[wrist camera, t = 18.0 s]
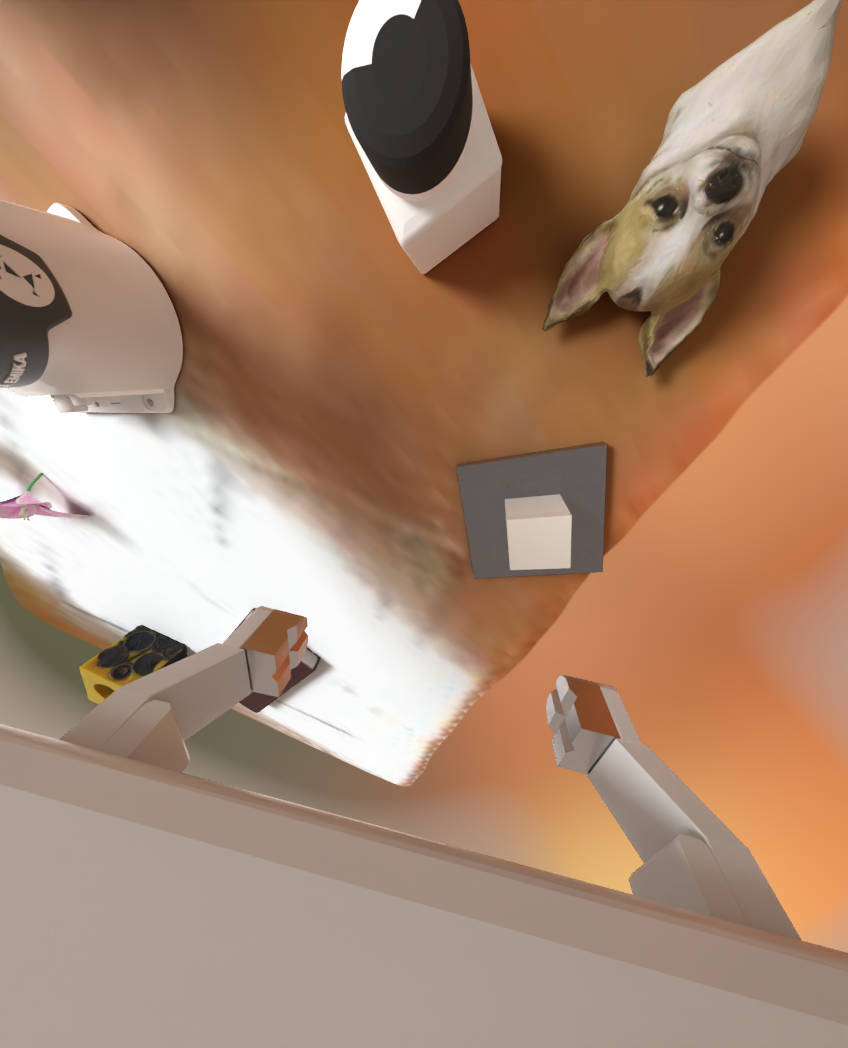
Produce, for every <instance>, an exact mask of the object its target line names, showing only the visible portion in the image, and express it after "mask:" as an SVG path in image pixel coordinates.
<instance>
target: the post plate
mask: <svg viewBox="0 0 848 1048" xmlns="http://www.w3.org/2000/svg"><path fill="white" fill-rule="evenodd" d="M606 458H607V444H605V443H604V442H598V443H592V444H585V445H579V446H572V447H566V448H559V449H553V450H546V451H540V452H533V453H527V454H520V455H514V456H507V457H501V458H494V459H488V460H481V461H475V462H468V463H462V464H457V466H456V470H457V476H458V482H459V488H460V494H461V500H462V506H463V512H464V518H465V524H466V530H467V536H468V542H469V548H470V554H471V560H472V566H473V572H474V579H478V578H497V577H515V576H534V575H553V574H572V573H591V572H603V571H602V570H603V544H604V515H605V487H606ZM556 494H560V495H561V497H562V499H563V501H564V502H565V504H566V506H567V508H568V509H569V511H570V513H571V515H572V525H571V565H570V568H560V569H530V570H510V563H509V552H508V540H507V526H506V512H505V499H512V498H523V497H534V496H545V495H556Z"/></svg>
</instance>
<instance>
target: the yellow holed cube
mask: <svg viewBox="0 0 848 1048" xmlns="http://www.w3.org/2000/svg"><path fill="white" fill-rule="evenodd" d="M186 657H187V656H186V646H185V645H184V644H181V643H179V642H177V641H175V640H173V639H171V638H169V637H167V636H164V635H162V634H160V633H157V632H155V631H153V630H150V629H148V628H146V627H144V626H142V625H140V626H137V627H136V628H135V629H134V630H132V631H131V632H129V633H128V634H126V635H125V636H124V637H123V638H122V639H121V640H119V641H118V642H116V643H115V644H113V645H111V646H110V647H109V648H108V649H105V650H104V651H102V652H101V653H99V654H98V655H96V656H95V657H93V658H92V659H91V660H89V661H88V662H86V663H85V664H83V665H82V666H81V667H80V672H81V675H82V677H83V681H84V685H85V687H86V690H87V694H88V699H90V700H91V701H93V702H95V703H98V704H101V703H102V702H103V701H104V700H105V699H106V698H107V697H109V696H110V695H111V694H112V693H113V692H114V691H115V690H117V689H118V688H120V687H122V686H124V685H126V684H128V683H131V682H133V681H135V680H137V679H140V678H142V677H144V676H146V675H148V674H151V673H153V672H155V671H157V670H160V669H162V668H164V667H166V666H169V665H171V664H173V663H175V662H177V661H180V660H182V659H184V658H186Z"/></svg>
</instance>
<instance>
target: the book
mask: <svg viewBox="0 0 848 1048" xmlns="http://www.w3.org/2000/svg"><path fill="white" fill-rule="evenodd" d="M255 610H256V609H253V610H252V611H251V612H250V613H249V614H248V615H247V616H246V618H245V619H244V620H243V621H242V622H241V623H240V625H241V624H242V623H243V622H244V621H245V620H246V619H247V618H248V617H249V616H250V615H251V614H252V613H253V612H254V611H255ZM240 625H239V626H240ZM239 626H238V627H237V628H236V629H235V630H234V632H235V631H236V630H237V629H238V628H239ZM234 632H233V633H234ZM233 633H232V634H233ZM232 634H231V635H232ZM231 635H230V636H231ZM230 636H229V637H230ZM229 637H228V638H229ZM228 638H227V639H228ZM227 639H226V640H227ZM319 660H320V657H319V656H318V655H316V654H315V653H312V652H311V650H310V649H309V648H306V651H305V654H304V656H303V658H302V660H301V662H300V663H299V665H298V666H296V667H295V668H293V669H291V670H290V671H291V678H290V680H289V682H288V683H287V685H286V686H285V688H284V690H283V691H282V693H281V695H282V694H284V693H285V692H286V691H288V690H289V689H290V688H291V687H293V686H294V685H296V684H297V683H299V682H300V681H301V680H303V679H304V678H305V677H307V676H308V675H309V674H311V673H312V672H313V671H315V669H316V667H317V665H318V663H319ZM251 692H252V691H251ZM281 695H280V696H281ZM280 696H279V697H280ZM277 698H278V697H275V696H271V695H266V694H261V693H257V692H252V693H251V694H250V695H248V696H247V697H246V698H244V699H243V700H241V701H240V702H239V703H241V704H242V705H244V706H245V707H247V708H248V709H250V710H252V711H254V712H256V713H257V712H260V711H261V710H262V709H264V708H265V707H266V706H268V705H269V704H270V703H272V702H273V701H274V700H275V699H277Z"/></svg>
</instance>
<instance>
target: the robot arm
mask: <svg viewBox="0 0 848 1048" xmlns="http://www.w3.org/2000/svg"><path fill="white" fill-rule="evenodd" d="M182 358H183V342H182V335H181V329H180V325H179V321H178V318H177V315H176V312H175V309H174V307H173V304H172V302H171V300H170V298H169V296H168V294H167V292H166V290H165V288H164V287H163V285H162V283H161V282H160V280H159V279H158V277H157V276H156V274H155V273H154V272H153V270H152V269H151V268H150V267H149V265H148V264H147V263H146V262H145V261H144V260H143V259H142V258H141V257H140V256H139V255H138V254H137V253H136V252H135V251H134V250H132V249H131V248H130V247H128V246H127V245H126V244H124V243H123V242H121V241H119V240H117V239H115V238H113V237H111V236H109V235H107V234H104V233H102V232H100V231H99V230H97V229H96V228H95V227H94V226H93V225H92V224H91V223H90V222H89V221H88V220H87V219H86V218H85V217H84V216H82V215H81V214H80V213H79V212H78V211H77V210H75V209H74V208H72V207H70V206H67V205H64V204H60V203H54V204H52V205H51V207H50V208H49V209H48V210H47V212H44V211H41V210H37V209H34V208H30V207H27V206H24V205H20V204H17V203H13V202H10V201H6V200H3V199H0V388H3V387H7V388H8V389H10V390H12V391H13V392H15V393H17V394H19V395H22V396H38V395H50V396H51V397H52V398H54V400H53V401H54V402H55V405H56V407H57V409H58V411H60V412H61V413H64V412H103V413H170V412H172V411H173V409H174V386H175V382H176V380H177V377H178V375H179V372H180V369H181V365H182ZM306 627H307V618H306V617H303V616H299V615H295V614H291V613H288V612H284V611H280V610H275V609H271V608H267V607H263V606H261V607H259V608H257V609H256V610H255V611H254V612H253V613H252V614H251V615H250V616H249V617H248V618H247V619H246V620H245V621H244V622H243V623H242V624H241V625H240V626H239V628H238V629H237V630H236V631H235V632H234V633H233V634H232V635H231V636H230V637H229V638H228V639H227V640H226V641H225V642H224V643H223V644H219V643H217V644H215V645H213V646H211V647H209V648H206V649H204V650H202V651H200V652H197V653H195V654H193V655H191V656H189V657H186V658H184V659H182V660H180V661H177V662H175V663H173V664H171V665H169V666H166V667H164V668H162V669H160V670H157V671H155V672H153V673H151V674H148V675H146V676H144V677H142V678H140V679H137V680H135V681H133V682H131V683H128V684H126V685H124V686H122V687H120V688H118V689H117V690H115V691H114V692H113V693H112V694H111V695H110V696H109V697H107V698H106V699H105V700H104V701H103V702H102V703H101V704H99V705H98V706H97V707H96V708H95V709H94V710H92V711H91V712H90V713H89V714H88V715H87V716H86V717H84V718H83V719H82V720H81V721H80V722H79V723H77V724H76V725H75V726H74V727H73V728H72V729H71V730H70V731H68V732H67V733H66V734H65V735H64V736H63V737H62V738H60V739H55V738H51V737H48V736H44V735H40V734H36V733H33V732H29V731H26V730H21V729H18V728H14V727H10V726H7V725H3V724H0V1048H848V953H845V952H842V951H838V950H834V949H831V948H827V947H823V946H820V945H816V944H812V943H808V942H805V941H802V940H801V938H800V937H799V935H798V933H797V931H796V930H795V928H794V927H793V924H792V923H791V921H790V920H789V918H788V916H787V914H786V912H785V911H784V909H783V907H782V906H781V904H780V902H779V900H778V899H777V897H776V895H775V894H774V892H773V890H772V888H771V887H770V885H769V883H768V882H767V880H766V878H765V876H764V875H763V873H762V871H761V870H760V868H759V866H758V864H757V863H756V861H755V859H754V857H753V856H752V854H751V852H750V851H749V849H748V848H747V847H746V846H745V845H744V844H743V843H742V842H741V841H740V840H739V839H738V838H737V837H736V836H735V835H734V834H733V833H732V832H731V831H730V830H729V829H728V828H727V827H726V826H725V825H724V824H723V823H722V821H720V820H719V819H718V817H717V816H716V815H714V814H713V812H712V811H711V810H710V809H709V808H708V807H707V806H706V805H705V804H704V803H703V802H702V801H701V800H700V799H699V798H698V797H697V796H696V795H695V794H694V793H693V792H692V791H691V790H690V789H689V788H688V787H687V786H686V785H685V784H684V783H683V782H682V781H681V779H679V777H678V776H677V775H676V774H675V773H674V772H673V771H672V770H671V769H670V768H669V767H668V766H667V765H666V764H665V763H664V762H663V761H662V760H661V759H660V758H659V757H658V756H657V755H656V754H655V753H654V752H653V751H652V750H651V749H650V748H649V747H648V746H647V745H643V744H642V743H641V741H640V739H639V737H638V735H637V732H636V730H635V728H634V726H633V724H632V722H631V720H630V717H629V715H628V713H627V711H626V709H625V707H624V705H623V702H622V700H621V698H620V696H619V694H618V692H617V690H616V689H615V688H614V687H613V686H609V685H605V684H600V683H594V682H592V681H587V680H583V679H578V678H573V677H569V676H564V675H561V676H560V677H558V679H557V681H556V686H557V689H556V690H554V691H552V692H550V694H549V697H548V699H547V705H546V714H547V721H548V725H549V727H550V728H551V729H552V731H553V732H554V733H555V736H554V738H553V739H552V745H553V749H554V753H555V758H556V763H557V766H559V767H563V768H566V769H569V770H573V771H576V772H580V773H584V774H588V778H589V779H590V781H591V782H592V784H593V786H594V787H595V789H596V790H597V792H598V793H599V795H600V796H601V798H602V799H603V801H604V803H605V804H606V806H607V807H608V808H609V810H610V812H611V813H612V815H613V816H614V818H615V819H616V821H617V822H618V824H619V825H620V827H621V828H622V830H623V832H624V833H625V835H626V836H627V838H628V839H629V841H630V842H631V844H632V845H633V847H634V848H635V850H636V851H637V853H638V855H639V856H640V858H641V859H642V861H643V862H644V864H643V865H642V866H641V867H640V868H638V869H637V870H636V871H635V872H633V873H632V875H631V876H630V878H629V882H630V886H631V889H632V893H633V895H632V894H628V893H624V892H620V891H617V890H613V889H609V888H605V887H602V886H598V885H595V884H591V883H587V882H583V881H580V880H576V879H572V878H569V877H565V876H561V875H557V874H554V873H550V872H546V871H543V870H539V869H536V868H532V867H528V866H525V865H520V864H517V863H513V862H510V861H506V860H502V859H499V858H495V857H491V856H488V855H484V854H480V853H477V852H473V851H469V850H465V849H462V848H458V847H454V846H450V845H447V844H443V843H440V842H436V841H432V840H428V839H425V838H421V837H417V836H414V835H410V834H406V833H403V832H399V831H395V830H392V829H388V828H384V827H381V826H377V825H373V824H369V823H366V822H362V821H358V820H355V819H351V818H347V817H344V816H340V815H336V814H333V813H329V812H325V811H322V810H318V809H314V808H310V807H306V806H303V805H299V804H296V803H292V802H288V801H285V800H281V799H277V798H273V797H270V796H266V795H262V794H258V793H255V792H251V791H247V790H244V789H240V788H236V787H233V786H229V785H225V784H222V783H218V782H214V781H211V780H206V779H203V778H199V777H196V776H192V775H188V774H185V773H182V772H183V771H184V769H185V768H186V766H187V765H188V764H189V754H188V751H187V748H186V746H185V743H184V741H185V740H186V739H188V738H189V737H190V736H192V735H193V734H195V733H196V732H197V731H198V730H200V729H202V728H203V727H204V726H206V725H207V724H209V723H210V722H212V721H213V720H214V719H216V718H217V717H219V716H220V715H221V714H223V713H224V712H225V711H227V710H229V709H230V708H231V707H233V706H234V705H236V704H237V703H238V702H240V701H241V700H243V699H244V698H246V697H247V696H248V695H250V694H251V693H252V692H257V693H261V694H266V695H271V696H275V697H279V696H280V695H281V693H282V691H283V690H284V688H285V686H286V685H287V683H288V682H289V680H290V678H291V671H290V670H291V669H293V668H295V667H296V666H298V665H299V663H300V662H301V660H302V658H303V656H304V654H305V651H306V648H307V643H308V635H307V634H306V633H305V631H304V630H305V629H306ZM251 691H252V692H251Z"/></svg>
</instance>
